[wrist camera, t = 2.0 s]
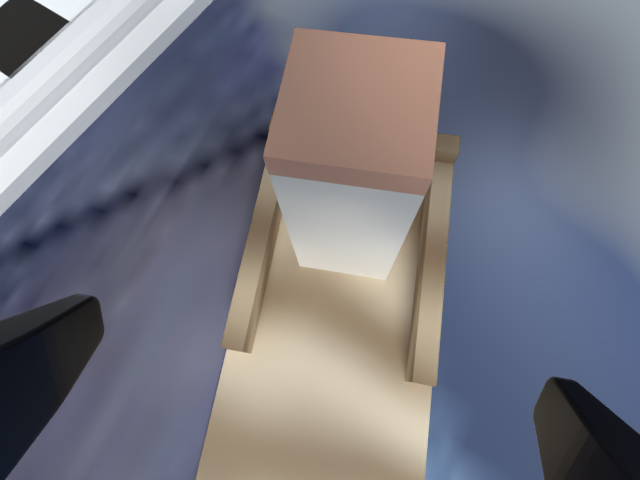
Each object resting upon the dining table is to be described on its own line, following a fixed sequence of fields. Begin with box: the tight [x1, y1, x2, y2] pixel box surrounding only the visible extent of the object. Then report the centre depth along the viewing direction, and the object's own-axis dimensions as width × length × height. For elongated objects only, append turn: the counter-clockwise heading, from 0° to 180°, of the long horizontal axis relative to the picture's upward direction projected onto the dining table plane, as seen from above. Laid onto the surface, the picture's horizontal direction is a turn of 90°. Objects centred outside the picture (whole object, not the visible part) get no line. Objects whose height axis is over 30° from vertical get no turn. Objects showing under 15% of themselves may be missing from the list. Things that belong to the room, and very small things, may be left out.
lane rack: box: [196, 113, 460, 480], centre depth 19 cm, size 19×10×4 cm, turn 170°
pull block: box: [263, 27, 446, 280], centre depth 17 cm, size 4×4×11 cm
